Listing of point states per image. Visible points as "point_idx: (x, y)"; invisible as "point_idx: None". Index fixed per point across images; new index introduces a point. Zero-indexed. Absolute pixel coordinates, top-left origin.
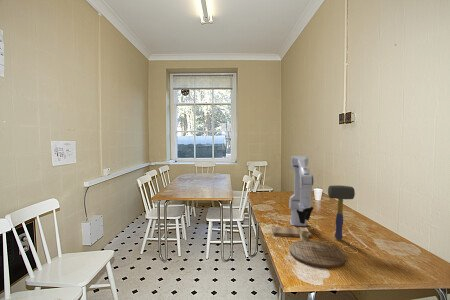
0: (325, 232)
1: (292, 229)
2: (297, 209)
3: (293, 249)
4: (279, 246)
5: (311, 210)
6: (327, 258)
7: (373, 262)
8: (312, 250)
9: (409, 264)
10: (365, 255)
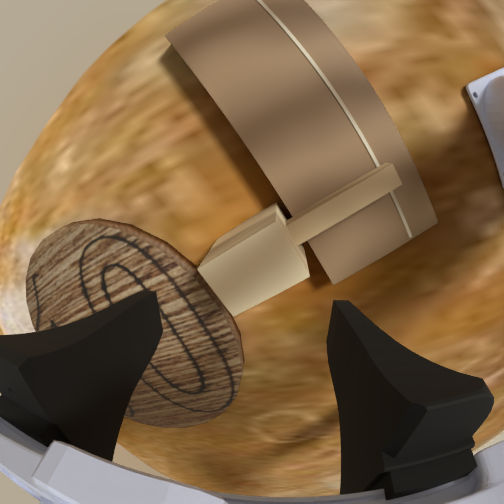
0: (454, 315)
1: (348, 117)
2: (2, 364)
3: (49, 258)
4: (60, 165)
5: (341, 477)
6: None
7: (224, 462)
8: None
9: (278, 493)
10: (262, 454)
